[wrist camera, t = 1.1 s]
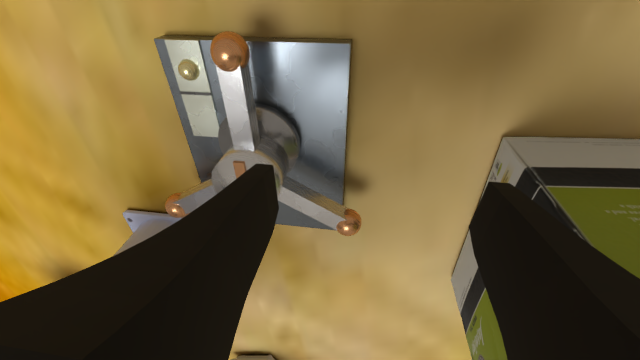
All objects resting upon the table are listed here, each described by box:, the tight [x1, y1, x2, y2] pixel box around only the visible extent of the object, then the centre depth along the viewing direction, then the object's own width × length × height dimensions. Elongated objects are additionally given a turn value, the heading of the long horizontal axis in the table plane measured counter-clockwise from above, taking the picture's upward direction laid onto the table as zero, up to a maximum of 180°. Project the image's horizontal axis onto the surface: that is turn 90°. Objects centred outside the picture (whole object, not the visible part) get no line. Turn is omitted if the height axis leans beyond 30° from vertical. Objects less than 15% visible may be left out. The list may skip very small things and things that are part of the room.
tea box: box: [451, 137, 640, 360], centre depth 15 cm, size 15×10×15 cm, turn 4°
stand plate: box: [154, 35, 352, 230], centre depth 20 cm, size 14×11×2 cm
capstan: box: [165, 31, 361, 236], centre depth 17 cm, size 12×14×4 cm
